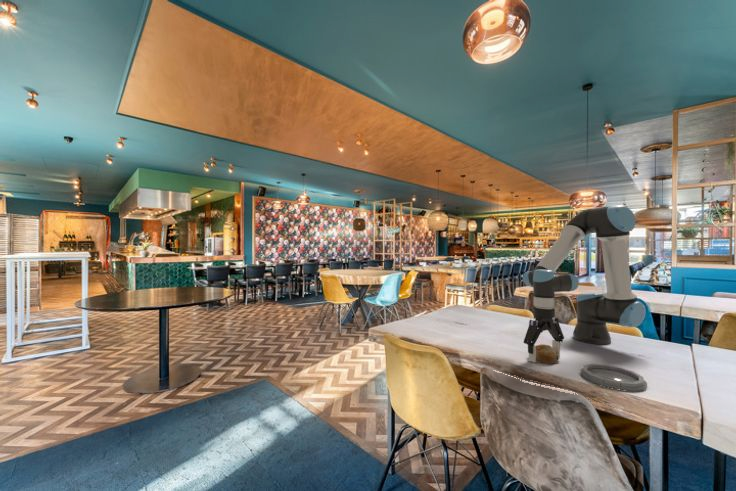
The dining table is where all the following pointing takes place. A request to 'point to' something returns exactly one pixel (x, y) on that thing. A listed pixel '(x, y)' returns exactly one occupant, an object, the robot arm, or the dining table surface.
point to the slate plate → (613, 377)
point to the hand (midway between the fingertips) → (544, 358)
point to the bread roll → (546, 354)
